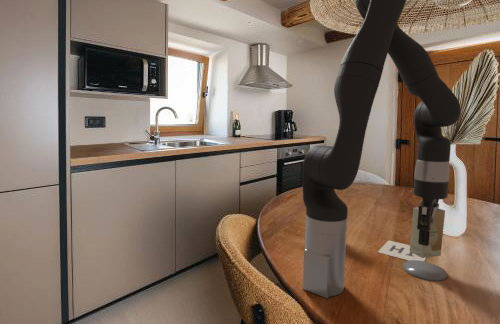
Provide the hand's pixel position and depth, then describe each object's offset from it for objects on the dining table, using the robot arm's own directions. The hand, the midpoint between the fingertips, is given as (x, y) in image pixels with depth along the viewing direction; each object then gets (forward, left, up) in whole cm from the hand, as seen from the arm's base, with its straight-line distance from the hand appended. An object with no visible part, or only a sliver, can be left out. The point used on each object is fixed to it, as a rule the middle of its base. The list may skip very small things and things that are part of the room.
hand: (426, 239), depth 77 cm
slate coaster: (0, 0, -8) cm, 8 cm away
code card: (+10, +7, -8) cm, 15 cm away
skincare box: (0, 0, -4) cm, 4 cm away
